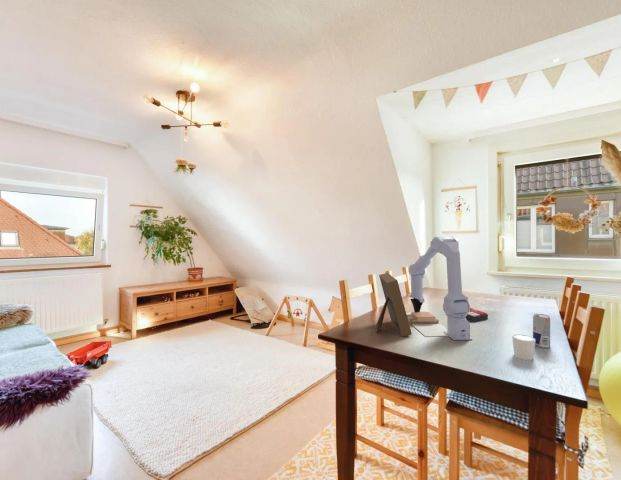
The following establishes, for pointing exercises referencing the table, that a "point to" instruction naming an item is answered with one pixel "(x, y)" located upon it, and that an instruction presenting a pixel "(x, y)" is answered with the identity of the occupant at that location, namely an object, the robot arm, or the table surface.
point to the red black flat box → (476, 315)
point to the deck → (420, 321)
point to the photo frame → (393, 305)
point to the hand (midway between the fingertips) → (417, 312)
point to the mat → (431, 329)
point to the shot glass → (523, 346)
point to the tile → (423, 316)
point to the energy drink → (541, 330)
